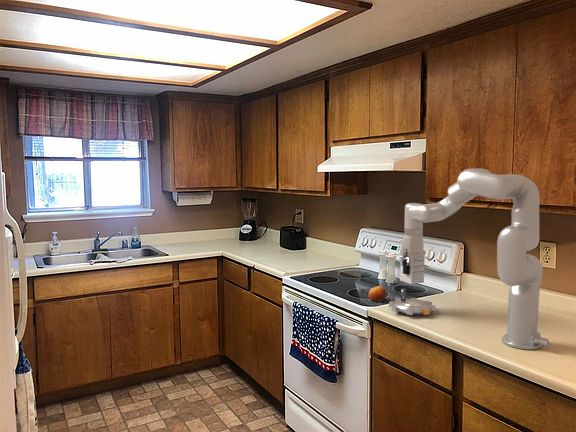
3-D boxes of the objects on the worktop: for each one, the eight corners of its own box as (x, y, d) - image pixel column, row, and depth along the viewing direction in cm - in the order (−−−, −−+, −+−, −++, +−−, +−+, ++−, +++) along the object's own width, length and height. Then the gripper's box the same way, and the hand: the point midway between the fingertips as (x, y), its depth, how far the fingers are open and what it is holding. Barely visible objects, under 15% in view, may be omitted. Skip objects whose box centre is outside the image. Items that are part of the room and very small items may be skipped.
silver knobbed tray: (415, 299, 213) (415, 285, 213) (445, 311, 196) (445, 295, 195) (380, 305, 206) (380, 289, 205) (408, 317, 188) (408, 301, 187)
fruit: (386, 301, 212) (378, 285, 213) (372, 308, 216) (363, 292, 217) (391, 297, 219) (383, 281, 220) (378, 303, 223) (369, 288, 224)
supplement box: (399, 281, 201) (400, 252, 200) (412, 279, 205) (413, 250, 203) (411, 284, 195) (411, 255, 194) (424, 282, 198) (425, 253, 197)
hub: (428, 312, 200) (428, 309, 200) (414, 316, 194) (414, 314, 194) (409, 306, 208) (409, 304, 208) (395, 311, 202) (395, 308, 201)
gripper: (418, 229, 206) (417, 268, 208) (393, 233, 195) (392, 274, 197) (432, 231, 200) (431, 271, 202) (408, 235, 189) (407, 277, 191)
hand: (412, 272), depth 199 cm, fingers closed on supplement box, 8 cm apart
